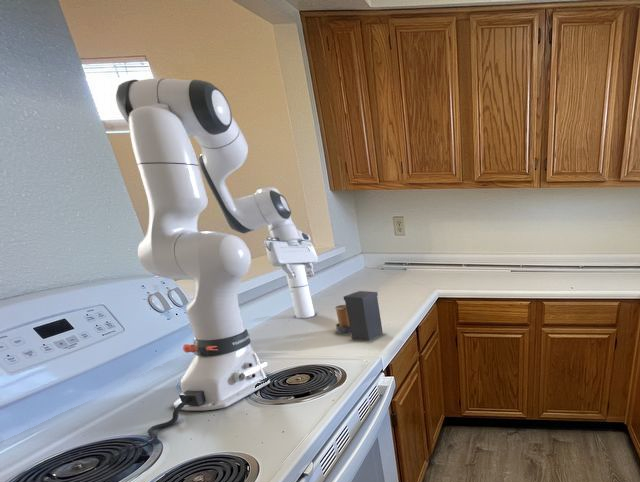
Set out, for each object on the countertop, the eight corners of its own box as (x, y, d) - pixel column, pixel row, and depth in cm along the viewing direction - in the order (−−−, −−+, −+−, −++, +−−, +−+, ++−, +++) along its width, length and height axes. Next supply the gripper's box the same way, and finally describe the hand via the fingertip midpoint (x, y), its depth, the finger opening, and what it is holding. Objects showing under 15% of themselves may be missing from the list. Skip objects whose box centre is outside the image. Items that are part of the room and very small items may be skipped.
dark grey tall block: (369, 342, 140) (361, 297, 134) (351, 340, 143) (343, 296, 136) (383, 334, 147) (377, 291, 141) (366, 332, 150) (359, 290, 144)
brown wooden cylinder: (351, 332, 148) (346, 308, 145) (337, 333, 149) (332, 308, 145) (357, 328, 153) (352, 304, 150) (343, 328, 154) (339, 304, 150)
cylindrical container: (307, 318, 170) (293, 255, 160) (292, 317, 171) (277, 255, 161) (318, 313, 176) (305, 252, 166) (303, 313, 178) (289, 252, 168)
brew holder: (353, 335, 148) (351, 327, 146) (333, 335, 148) (332, 327, 147) (361, 328, 154) (359, 321, 153) (342, 328, 155) (340, 321, 154)
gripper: (269, 233, 133) (287, 276, 135) (312, 235, 151) (327, 272, 154) (255, 240, 135) (273, 282, 137) (299, 241, 153) (314, 278, 156)
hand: (302, 277), depth 146 cm, fingers open, 8 cm apart
